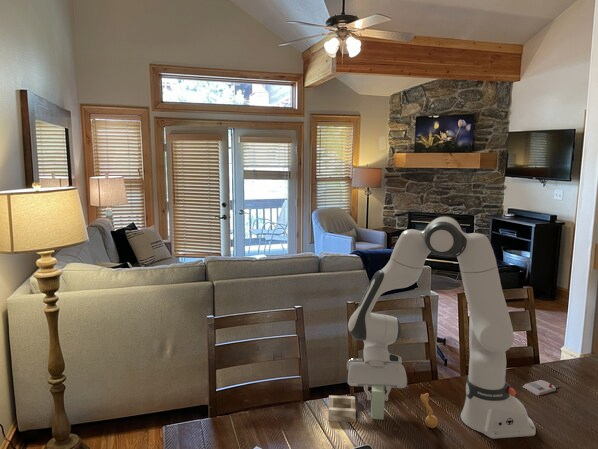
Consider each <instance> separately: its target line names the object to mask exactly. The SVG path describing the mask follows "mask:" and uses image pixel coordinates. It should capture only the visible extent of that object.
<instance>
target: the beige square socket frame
mask: <svg viewBox="0 0 598 449" xmlns="http://www.w3.org/2000/svg"><path fill="white" fill-rule="evenodd" d="M356 409H357V408H356V397H355V396H349V395H332V394H331V395H328V410H327V412H328V419H327V420H328V422H337V423H338V422H339V423H340V422H341V423H342V422H343V423H356V422H357V420H356V417H357V414H356V413H357V410H356Z"/></svg>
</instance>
